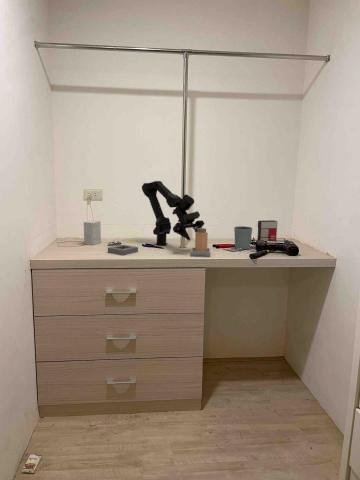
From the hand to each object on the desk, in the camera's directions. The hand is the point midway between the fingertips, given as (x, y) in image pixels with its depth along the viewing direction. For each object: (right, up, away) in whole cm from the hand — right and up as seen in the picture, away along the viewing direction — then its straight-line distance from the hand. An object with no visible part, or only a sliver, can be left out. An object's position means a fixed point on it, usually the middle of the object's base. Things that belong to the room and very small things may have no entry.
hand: (196, 239), depth 200 cm
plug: (+3, -7, -2) cm, 8 cm away
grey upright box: (+43, -4, +26) cm, 50 cm away
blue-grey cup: (+27, -5, +17) cm, 33 cm away
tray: (+2, -8, -2) cm, 9 cm away
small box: (-60, -3, +22) cm, 64 cm away
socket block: (-38, -8, -4) cm, 39 cm away
